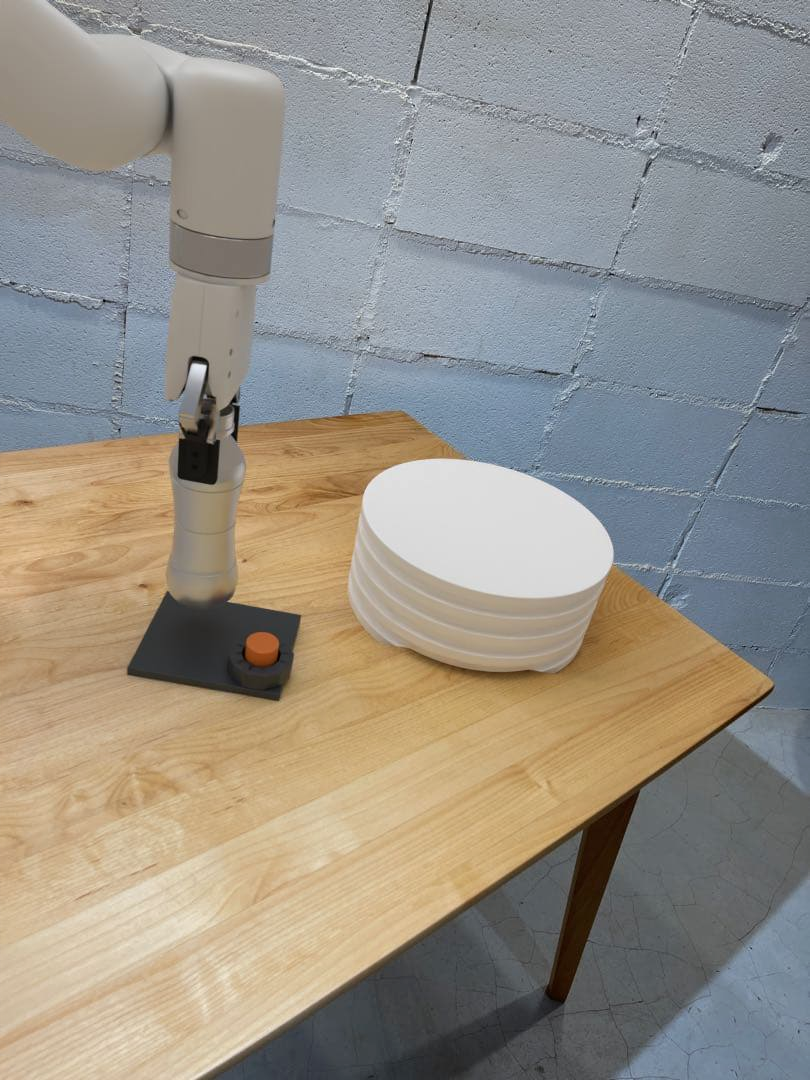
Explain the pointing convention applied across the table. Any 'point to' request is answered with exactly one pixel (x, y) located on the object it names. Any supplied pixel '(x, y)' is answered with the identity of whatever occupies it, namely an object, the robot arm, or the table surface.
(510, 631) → the plate stack
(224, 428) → the plastic bottle
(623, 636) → the table surface
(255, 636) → the button
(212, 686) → the scale
